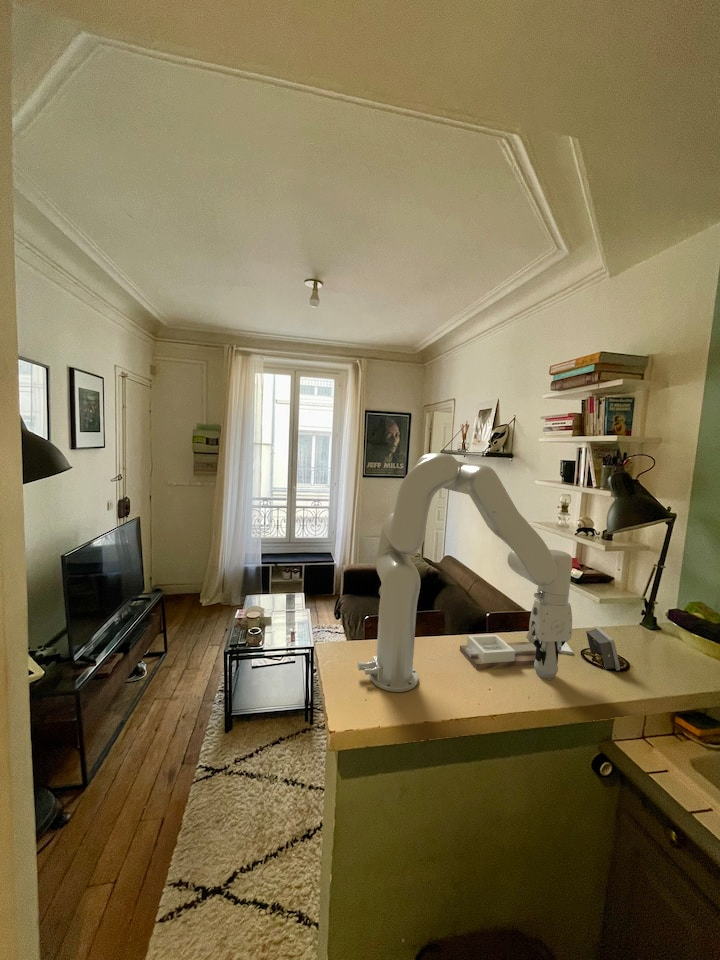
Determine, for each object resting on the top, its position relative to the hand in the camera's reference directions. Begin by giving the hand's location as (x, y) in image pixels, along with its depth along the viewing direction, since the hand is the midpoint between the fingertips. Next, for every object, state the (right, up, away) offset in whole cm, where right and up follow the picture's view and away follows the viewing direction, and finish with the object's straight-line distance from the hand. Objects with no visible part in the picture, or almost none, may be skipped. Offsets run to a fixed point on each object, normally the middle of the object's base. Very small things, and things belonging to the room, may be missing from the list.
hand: (546, 662), depth 101 cm
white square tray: (-13, -1, +8) cm, 15 cm away
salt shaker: (0, -4, 0) cm, 4 cm away
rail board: (-8, -3, +9) cm, 12 cm away
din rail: (-8, -1, +9) cm, 12 cm away
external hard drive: (+12, -4, +19) cm, 23 cm away
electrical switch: (+21, -5, +9) cm, 23 cm away
